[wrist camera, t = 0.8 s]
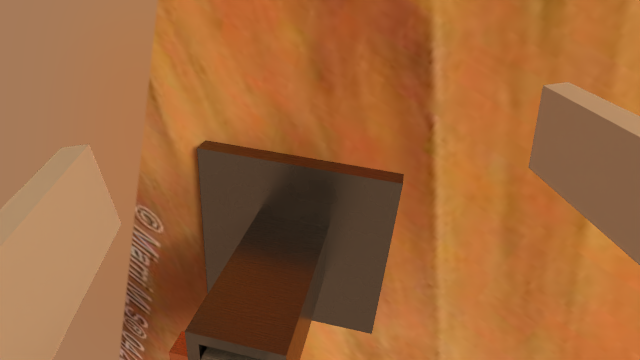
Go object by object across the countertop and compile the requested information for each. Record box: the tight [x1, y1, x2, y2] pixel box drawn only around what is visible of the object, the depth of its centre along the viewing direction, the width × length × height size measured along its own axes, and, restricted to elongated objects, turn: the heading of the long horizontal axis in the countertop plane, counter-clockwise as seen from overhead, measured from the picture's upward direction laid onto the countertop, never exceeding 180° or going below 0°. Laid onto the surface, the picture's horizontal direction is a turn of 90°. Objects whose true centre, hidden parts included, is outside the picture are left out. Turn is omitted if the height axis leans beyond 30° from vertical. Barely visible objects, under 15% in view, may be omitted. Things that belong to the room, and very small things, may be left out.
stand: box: [169, 141, 404, 360], centre depth 31 cm, size 16×16×14 cm
